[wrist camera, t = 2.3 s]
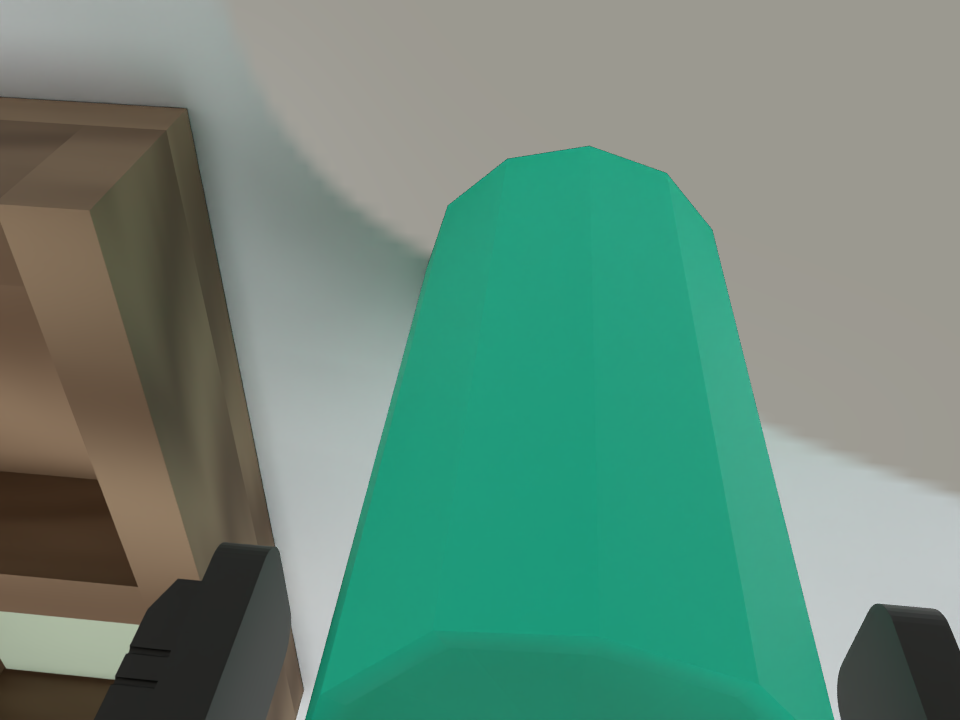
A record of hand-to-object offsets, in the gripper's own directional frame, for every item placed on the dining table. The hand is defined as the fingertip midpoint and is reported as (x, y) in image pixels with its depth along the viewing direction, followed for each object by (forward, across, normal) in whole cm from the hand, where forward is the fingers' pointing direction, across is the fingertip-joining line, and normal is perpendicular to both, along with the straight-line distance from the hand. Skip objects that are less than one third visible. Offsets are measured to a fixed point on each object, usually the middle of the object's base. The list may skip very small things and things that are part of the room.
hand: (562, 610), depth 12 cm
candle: (+8, 0, 0) cm, 8 cm away
